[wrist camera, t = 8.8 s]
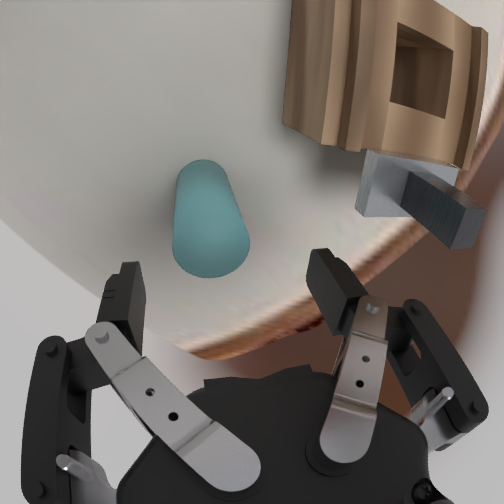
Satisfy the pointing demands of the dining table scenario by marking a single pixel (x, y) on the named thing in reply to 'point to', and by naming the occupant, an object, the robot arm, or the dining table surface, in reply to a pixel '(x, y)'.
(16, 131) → the dining table surface
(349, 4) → the socket block
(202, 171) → the dowel
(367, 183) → the latch bar
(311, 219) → the dining table surface
